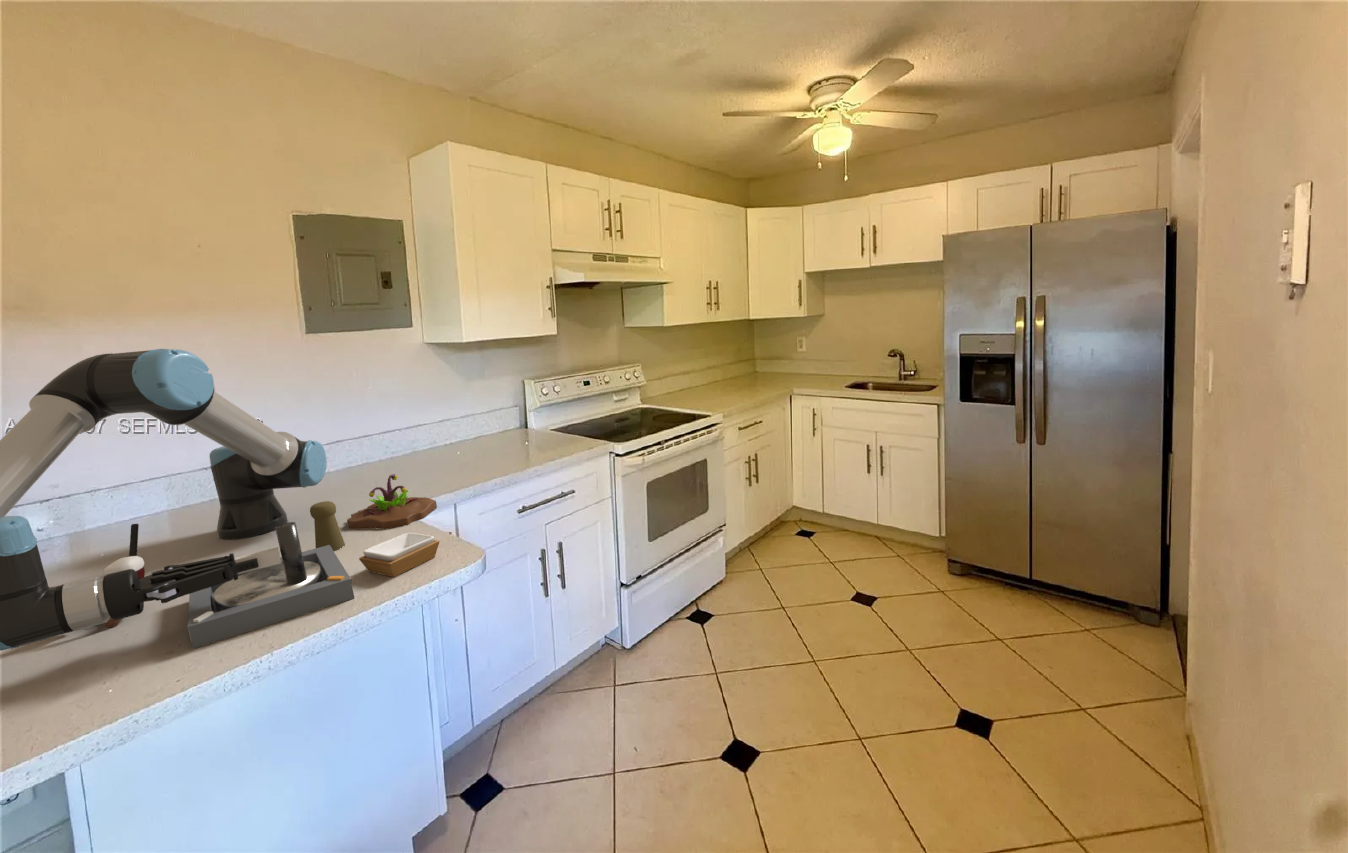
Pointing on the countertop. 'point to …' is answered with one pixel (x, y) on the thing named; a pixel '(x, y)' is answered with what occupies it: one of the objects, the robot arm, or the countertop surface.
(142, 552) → the countertop surface
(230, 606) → the dial
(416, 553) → the soap dish
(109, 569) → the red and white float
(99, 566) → the countertop surface
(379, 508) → the plant
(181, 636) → the countertop surface
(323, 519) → the cork
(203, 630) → the tray
